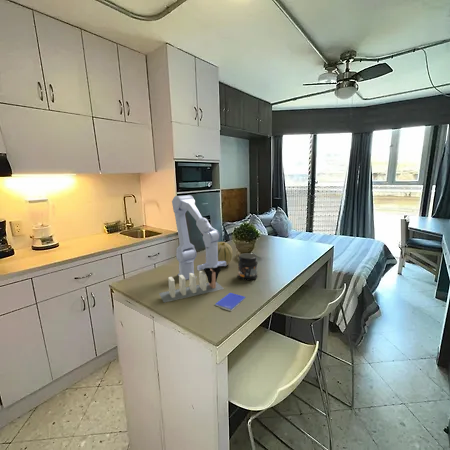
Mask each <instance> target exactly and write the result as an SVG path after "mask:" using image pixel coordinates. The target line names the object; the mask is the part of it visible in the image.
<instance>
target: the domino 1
mask: <svg viewBox="0 0 450 450" xmlns="http://www.w3.org/2000/svg"><path fill="white" fill-rule="evenodd" d="M167 278H168V281H167V282H168V291H169V294H170V296H171V297H172V298H174V297H175V290H176V284H175V279H174V277H173V276H169V277H167Z"/></svg>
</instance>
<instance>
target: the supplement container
mask: <svg viewBox="0 0 450 450" xmlns="http://www.w3.org/2000/svg"><path fill="white" fill-rule="evenodd" d="M237 268H238V269H237V276H238V278H239V279H241V280H243V281H253V280H255V279H257V278H258V255H256V254H255V253H250V252H246V253H240V254H239V255H238V261H237Z"/></svg>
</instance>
